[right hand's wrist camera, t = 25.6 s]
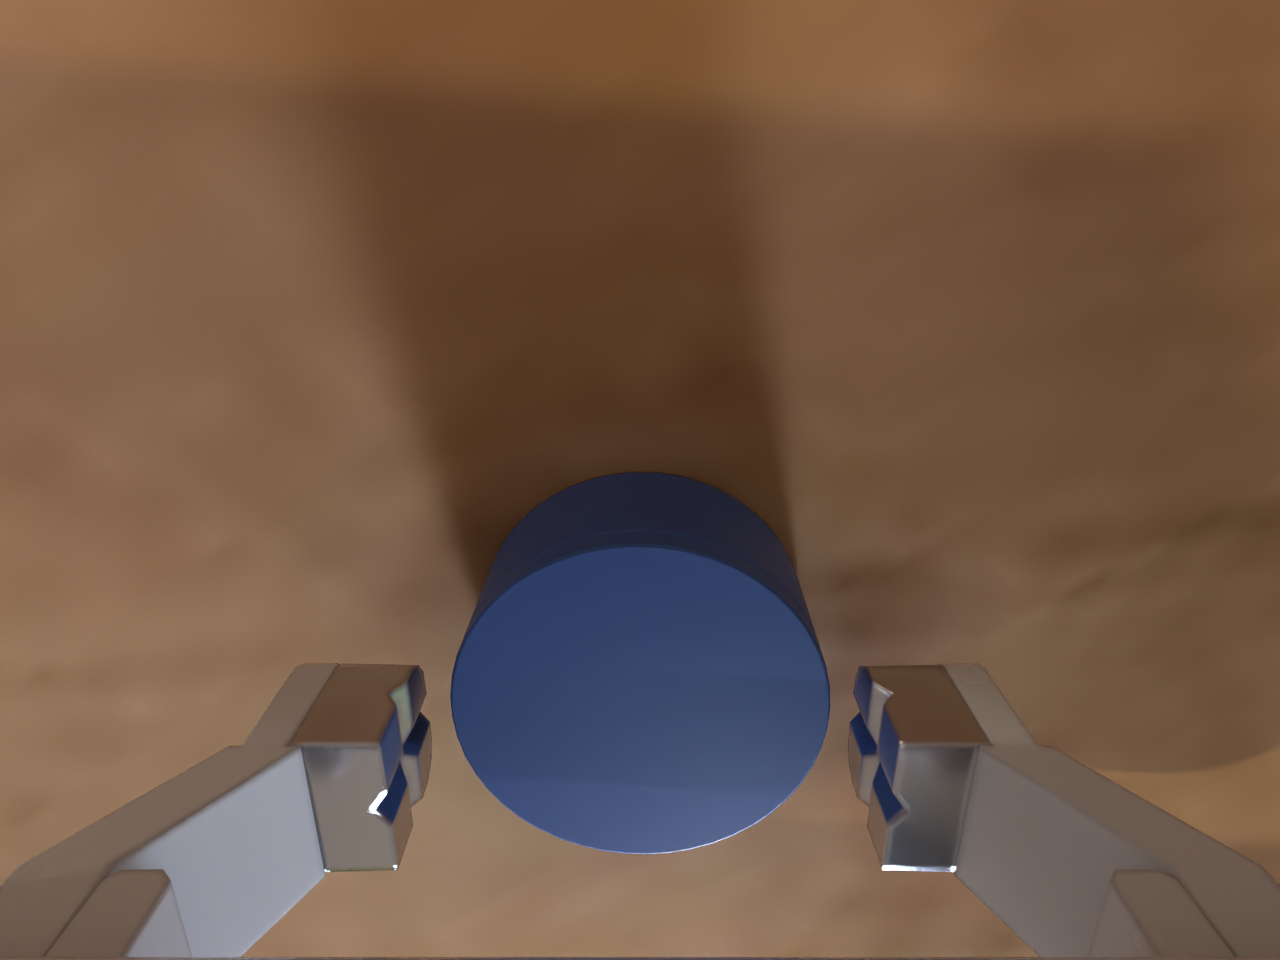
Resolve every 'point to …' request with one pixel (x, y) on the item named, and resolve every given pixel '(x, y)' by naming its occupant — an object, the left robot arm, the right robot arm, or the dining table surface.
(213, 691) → the dining table surface
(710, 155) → the dining table surface
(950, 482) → the dining table surface
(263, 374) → the dining table surface
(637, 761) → the lid
